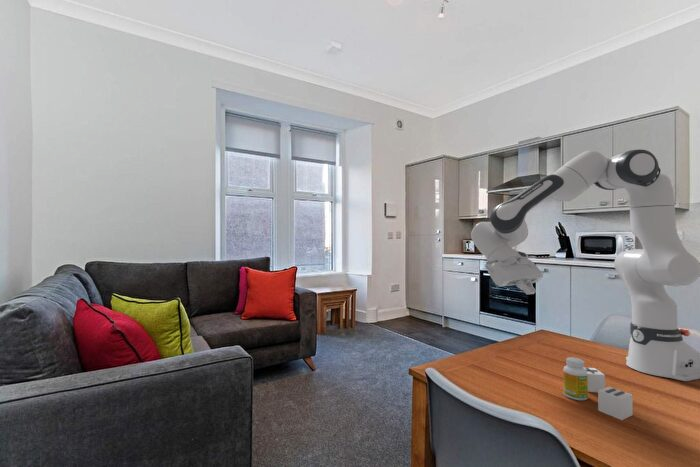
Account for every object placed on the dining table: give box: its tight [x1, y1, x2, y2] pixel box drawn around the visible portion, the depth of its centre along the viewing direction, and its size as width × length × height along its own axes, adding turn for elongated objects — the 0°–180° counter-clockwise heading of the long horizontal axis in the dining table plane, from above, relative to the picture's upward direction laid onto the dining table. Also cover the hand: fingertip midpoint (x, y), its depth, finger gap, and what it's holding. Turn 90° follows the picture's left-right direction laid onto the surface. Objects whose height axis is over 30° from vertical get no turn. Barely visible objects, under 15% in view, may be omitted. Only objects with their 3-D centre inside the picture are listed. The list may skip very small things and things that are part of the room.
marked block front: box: [597, 386, 634, 421], centre depth 83 cm, size 5×5×5 cm
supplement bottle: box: [563, 356, 589, 401], centre depth 91 cm, size 5×5×10 cm
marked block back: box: [583, 366, 606, 393], centre depth 96 cm, size 5×5×5 cm
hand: (532, 293), depth 106 cm, fingers closed
